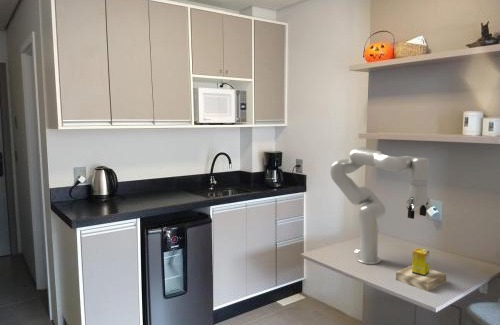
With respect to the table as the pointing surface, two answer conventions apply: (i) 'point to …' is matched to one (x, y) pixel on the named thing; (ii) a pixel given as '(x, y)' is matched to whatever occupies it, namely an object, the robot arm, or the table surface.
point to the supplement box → (420, 262)
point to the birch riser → (421, 278)
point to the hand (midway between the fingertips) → (416, 216)
